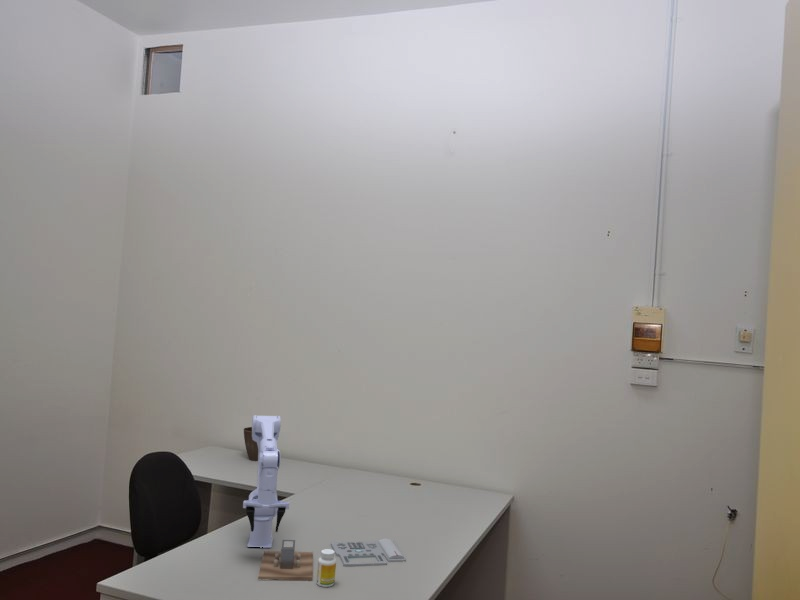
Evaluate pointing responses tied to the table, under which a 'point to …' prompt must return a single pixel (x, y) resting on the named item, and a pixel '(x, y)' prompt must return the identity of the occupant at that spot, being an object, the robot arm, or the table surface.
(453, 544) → the table surface
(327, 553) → the supplement bottle
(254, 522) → the robot arm
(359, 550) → the office telephone
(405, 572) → the table surface
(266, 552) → the pin tray
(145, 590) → the table surface
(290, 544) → the block
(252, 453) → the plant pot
